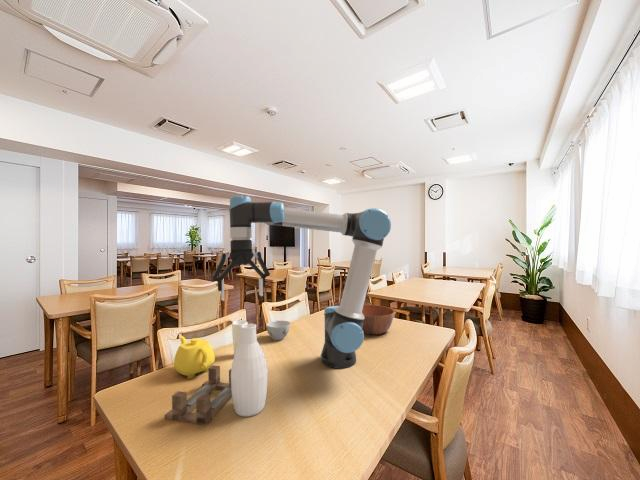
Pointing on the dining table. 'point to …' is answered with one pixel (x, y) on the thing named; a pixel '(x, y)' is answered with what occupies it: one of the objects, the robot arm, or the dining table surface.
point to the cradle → (201, 400)
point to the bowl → (377, 319)
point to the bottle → (249, 374)
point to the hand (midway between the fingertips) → (242, 297)
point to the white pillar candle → (237, 333)
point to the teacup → (278, 329)
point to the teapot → (193, 357)
